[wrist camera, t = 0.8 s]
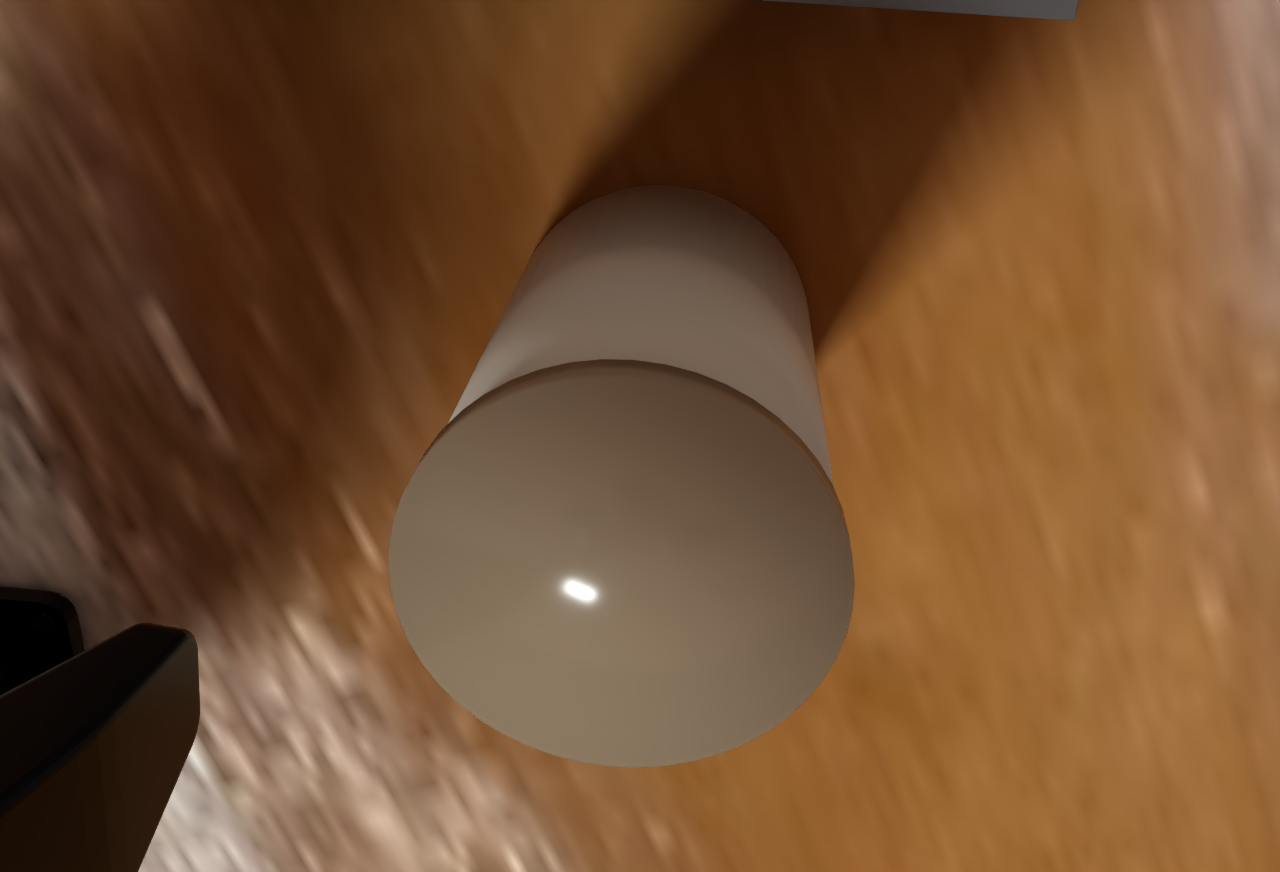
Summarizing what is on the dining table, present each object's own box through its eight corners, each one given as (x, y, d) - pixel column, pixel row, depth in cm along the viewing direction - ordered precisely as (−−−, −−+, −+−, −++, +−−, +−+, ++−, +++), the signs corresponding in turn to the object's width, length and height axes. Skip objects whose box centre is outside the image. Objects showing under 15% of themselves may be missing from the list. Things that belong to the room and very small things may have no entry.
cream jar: (509, 451, 22) (398, 746, 15) (509, 167, 19) (377, 358, 12) (796, 475, 22) (823, 786, 15) (833, 190, 19) (887, 399, 12)
